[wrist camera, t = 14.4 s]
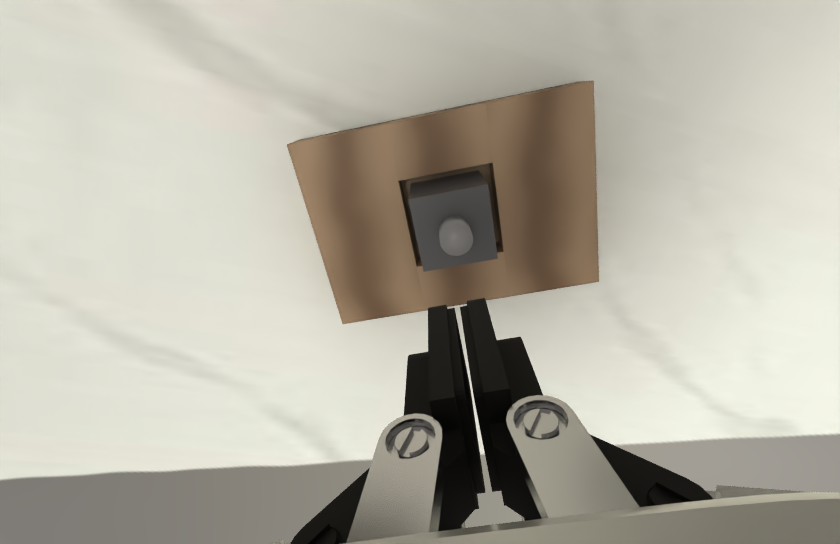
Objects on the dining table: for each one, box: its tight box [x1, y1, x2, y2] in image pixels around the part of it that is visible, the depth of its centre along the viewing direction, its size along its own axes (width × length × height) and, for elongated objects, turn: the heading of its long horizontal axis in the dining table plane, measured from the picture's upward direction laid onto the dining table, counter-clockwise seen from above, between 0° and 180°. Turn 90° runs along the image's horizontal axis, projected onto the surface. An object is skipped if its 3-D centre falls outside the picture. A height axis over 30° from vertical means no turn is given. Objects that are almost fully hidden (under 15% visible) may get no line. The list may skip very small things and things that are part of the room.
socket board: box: [287, 81, 599, 324], centre depth 31 cm, size 20×14×3 cm
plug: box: [408, 170, 498, 272], centre depth 28 cm, size 5×5×7 cm
